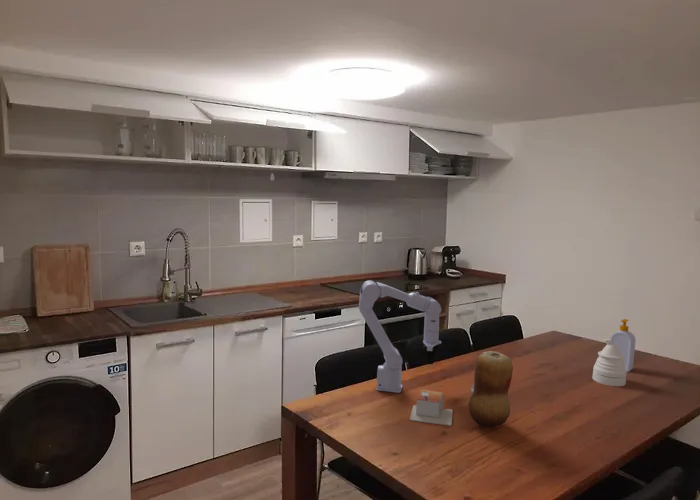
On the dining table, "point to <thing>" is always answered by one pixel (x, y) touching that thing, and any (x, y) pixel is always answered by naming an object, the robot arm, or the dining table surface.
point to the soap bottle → (625, 344)
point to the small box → (429, 403)
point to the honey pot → (610, 366)
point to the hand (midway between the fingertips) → (430, 363)
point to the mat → (443, 419)
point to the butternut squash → (491, 389)
